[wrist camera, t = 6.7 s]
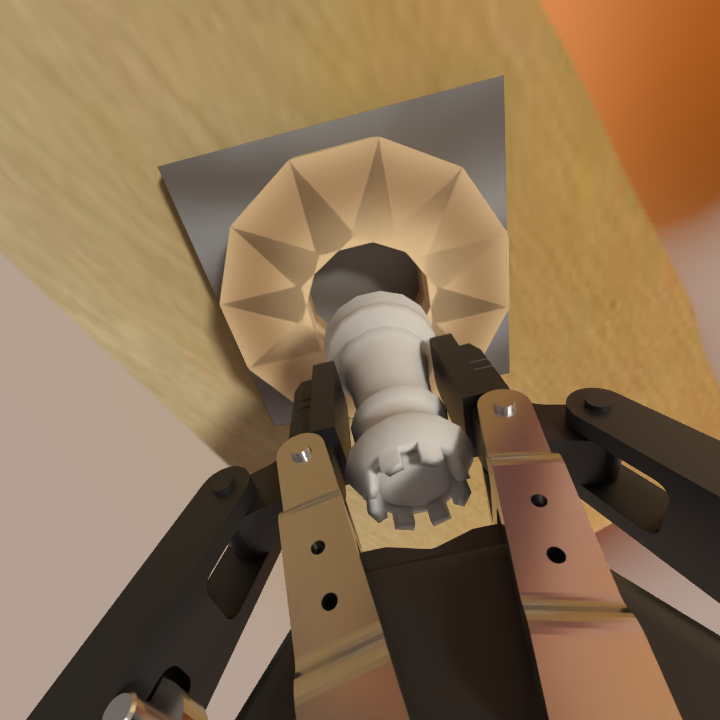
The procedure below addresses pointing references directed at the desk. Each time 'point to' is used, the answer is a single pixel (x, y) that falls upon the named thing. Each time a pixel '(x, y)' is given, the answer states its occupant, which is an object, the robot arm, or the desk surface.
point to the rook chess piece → (396, 411)
